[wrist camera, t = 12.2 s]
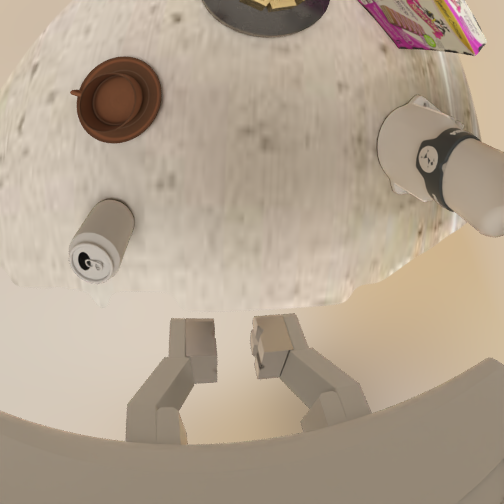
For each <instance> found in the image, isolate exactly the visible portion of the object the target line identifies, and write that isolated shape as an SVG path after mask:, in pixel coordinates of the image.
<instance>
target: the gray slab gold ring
mask: <svg viewBox="0 0 504 504" xmlns="http://www.w3.org/2000/svg"><path fill="white" fill-rule="evenodd" d="M239 2H241V3H244V4H246V5H248V6H251V7H253V8H255V9H257V10H259V11H262V10H263V9H264V8H265V7H267V10H268V12H274V11H280V10H287V9H292V8H294V7H295V6H298V5H299V4H301V3H302V2H304V0H240V1H239Z"/></svg>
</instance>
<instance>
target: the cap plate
mask: <svg viewBox="0 0 504 504" xmlns="http://www.w3.org/2000/svg"><path fill="white" fill-rule="evenodd" d="M202 1H203V3H204V5H205V7H206V8H207V10H208V11H209V12H210V13H211V14H212V16H213V17H214V18H216V19H217V20H218V21H219V22H221V23H222V24H224V25H225V26H227V27H229V28H231V29H233V30H235V31H238V32H240V33H244V34H247V35H252V36H257V37H281V36H286V35H291V34H293V33H296V32H299V31H301V30H303V29H305V28H307V27H309V26H311V25H312V24H314V23H315V22H316V21H318V20H319V19H320V18H321V17H322V15H323V14H324V13H325V11H326V9H327V7H328V5H329V1H330V0H304V2H302V3H301V4H299V5H298V6H295V7H294V8H292V9H287V10H280V11H274V12H268V10H267V7H265V8H264V9H263V10H262V11H259V10H257V9H255V8H253V7H251V6H248V5H246V4H244V3H241V2H239V1H240V0H202Z"/></svg>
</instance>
